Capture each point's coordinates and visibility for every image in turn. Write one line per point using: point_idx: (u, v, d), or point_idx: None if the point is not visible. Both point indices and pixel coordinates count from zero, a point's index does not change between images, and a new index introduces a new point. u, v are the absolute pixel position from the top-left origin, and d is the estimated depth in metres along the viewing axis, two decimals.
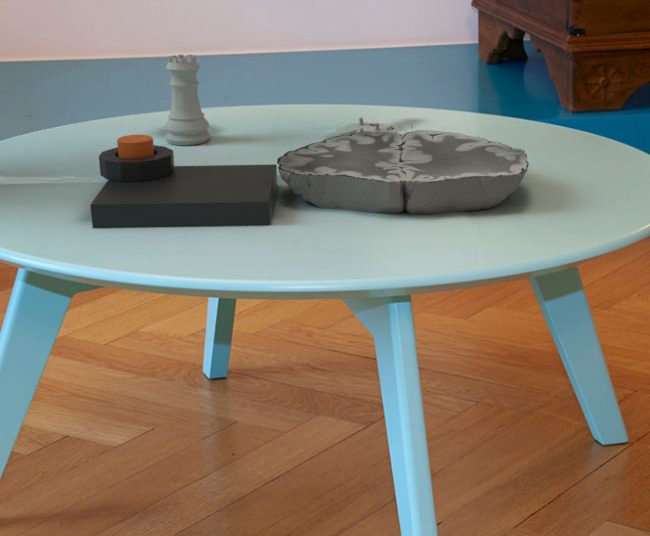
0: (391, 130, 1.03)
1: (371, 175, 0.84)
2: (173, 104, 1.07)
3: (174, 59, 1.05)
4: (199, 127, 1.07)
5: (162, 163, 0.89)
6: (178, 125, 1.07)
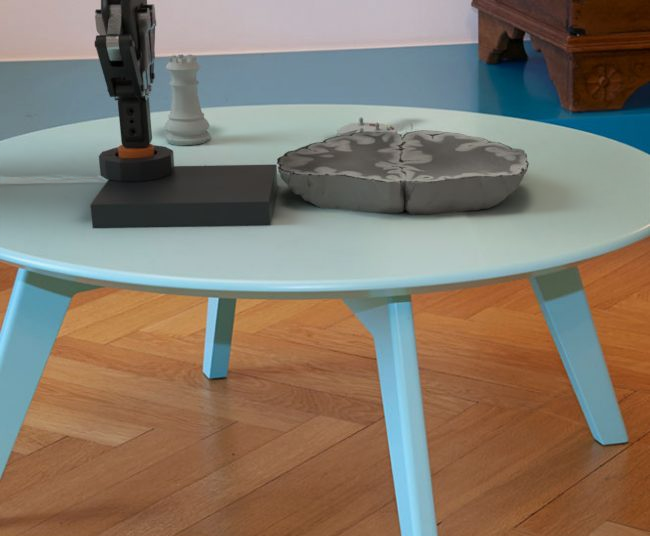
0: (391, 130, 1.03)
1: (371, 175, 0.84)
2: (173, 104, 1.07)
3: (174, 59, 1.05)
4: (199, 127, 1.07)
5: (162, 163, 0.89)
6: (178, 125, 1.07)
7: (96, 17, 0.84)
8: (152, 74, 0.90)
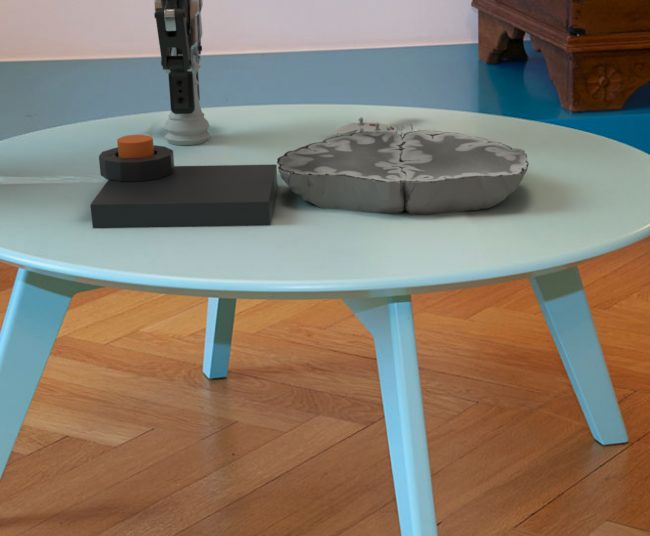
0: (391, 130, 1.03)
1: (371, 175, 0.84)
2: None
3: None
4: (199, 127, 1.07)
5: (162, 163, 0.89)
6: (178, 125, 1.07)
7: (155, 0, 1.03)
8: (200, 47, 1.10)
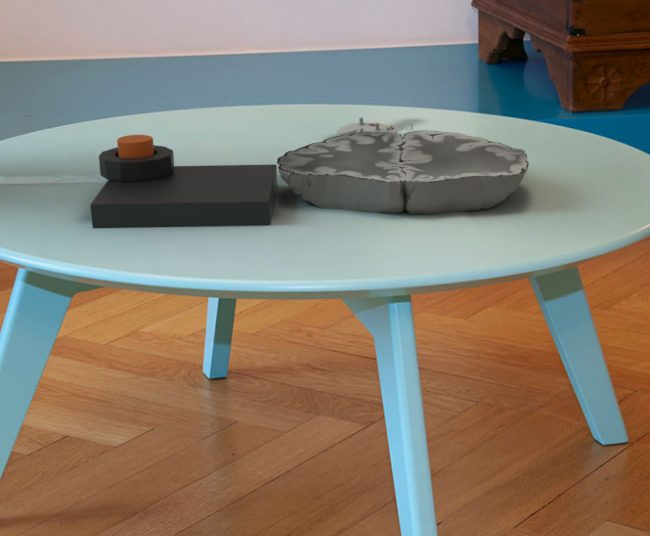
0: (391, 130, 1.03)
1: (371, 175, 0.84)
2: None
3: None
4: None
5: (162, 163, 0.89)
6: None
7: None
8: None
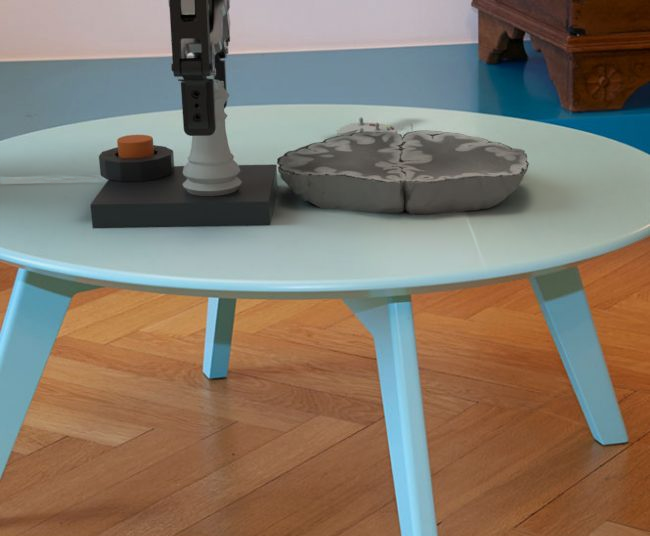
0: (391, 130, 1.03)
1: (371, 175, 0.84)
2: (194, 143, 0.83)
3: None
4: (228, 173, 0.83)
5: (162, 163, 0.89)
6: (201, 170, 0.83)
7: None
8: (228, 39, 0.87)
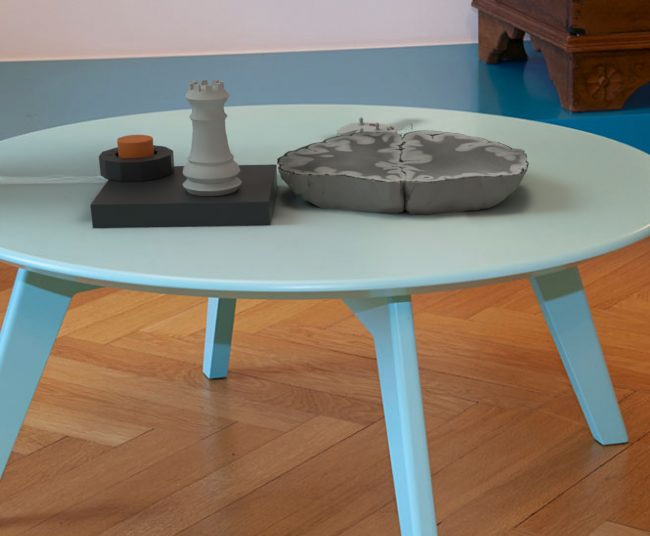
0: (391, 130, 1.03)
1: (371, 175, 0.84)
2: (194, 143, 0.83)
3: (196, 86, 0.81)
4: (228, 173, 0.83)
5: (162, 163, 0.89)
6: (201, 170, 0.83)
7: None
8: None
